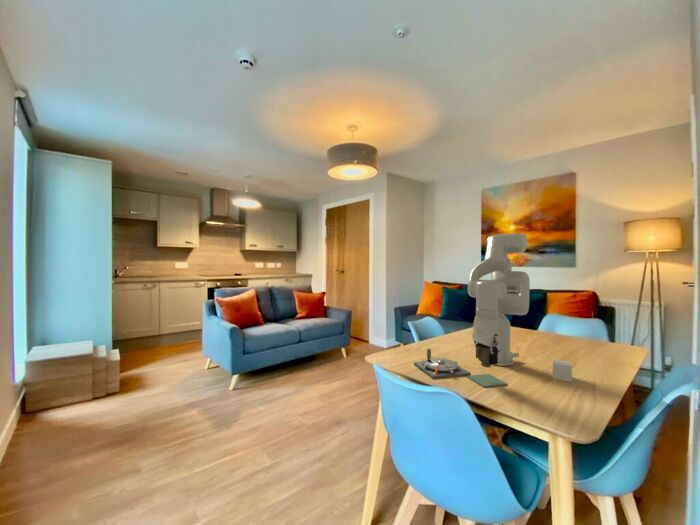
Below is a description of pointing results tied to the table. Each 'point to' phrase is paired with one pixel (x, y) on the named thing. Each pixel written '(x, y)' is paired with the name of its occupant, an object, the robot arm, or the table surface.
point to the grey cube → (562, 370)
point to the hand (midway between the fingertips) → (486, 360)
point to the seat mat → (486, 380)
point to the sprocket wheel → (440, 364)
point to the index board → (441, 374)
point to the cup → (483, 354)
